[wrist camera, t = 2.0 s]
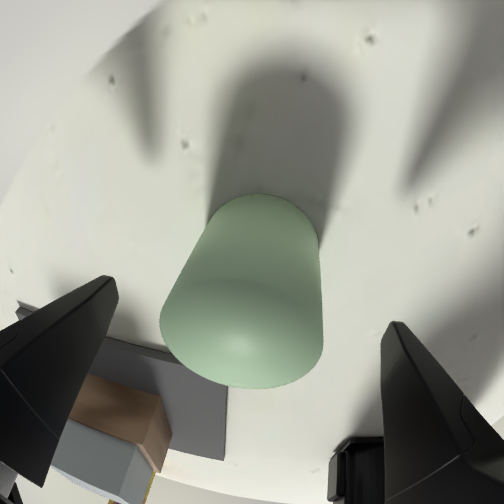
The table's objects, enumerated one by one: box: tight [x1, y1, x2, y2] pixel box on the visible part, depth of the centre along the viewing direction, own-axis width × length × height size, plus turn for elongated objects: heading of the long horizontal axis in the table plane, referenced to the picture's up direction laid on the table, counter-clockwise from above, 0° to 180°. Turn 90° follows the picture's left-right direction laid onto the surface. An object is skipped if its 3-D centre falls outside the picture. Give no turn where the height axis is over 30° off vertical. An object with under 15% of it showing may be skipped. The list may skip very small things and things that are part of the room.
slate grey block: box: [50, 418, 153, 504], centre depth 16 cm, size 6×6×4 cm
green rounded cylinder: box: [159, 194, 323, 389], centre depth 10 cm, size 4×4×5 cm
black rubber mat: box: [15, 307, 227, 461], centre depth 21 cm, size 16×16×1 cm
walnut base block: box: [68, 373, 173, 473], centre depth 20 cm, size 7×7×4 cm
